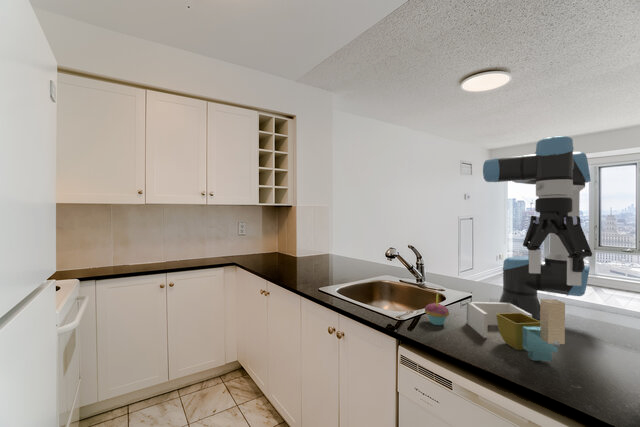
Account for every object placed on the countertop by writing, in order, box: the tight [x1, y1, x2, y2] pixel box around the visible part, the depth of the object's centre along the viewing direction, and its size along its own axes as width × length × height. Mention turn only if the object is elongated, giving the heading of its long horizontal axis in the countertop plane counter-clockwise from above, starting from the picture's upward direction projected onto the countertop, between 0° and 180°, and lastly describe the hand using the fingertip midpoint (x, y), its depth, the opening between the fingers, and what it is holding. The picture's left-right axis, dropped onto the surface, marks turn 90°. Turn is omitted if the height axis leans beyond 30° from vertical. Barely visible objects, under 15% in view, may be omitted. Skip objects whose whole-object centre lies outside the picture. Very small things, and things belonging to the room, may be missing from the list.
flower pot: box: [496, 313, 540, 351], centre depth 89 cm, size 9×9×9 cm
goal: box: [466, 301, 532, 339], centre depth 101 cm, size 15×12×8 cm
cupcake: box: [424, 292, 450, 326], centre depth 108 cm, size 9×8×12 cm
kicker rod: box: [523, 298, 566, 362], centre depth 77 cm, size 8×7×18 cm
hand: (552, 278), depth 75 cm, fingers open, 13 cm apart
